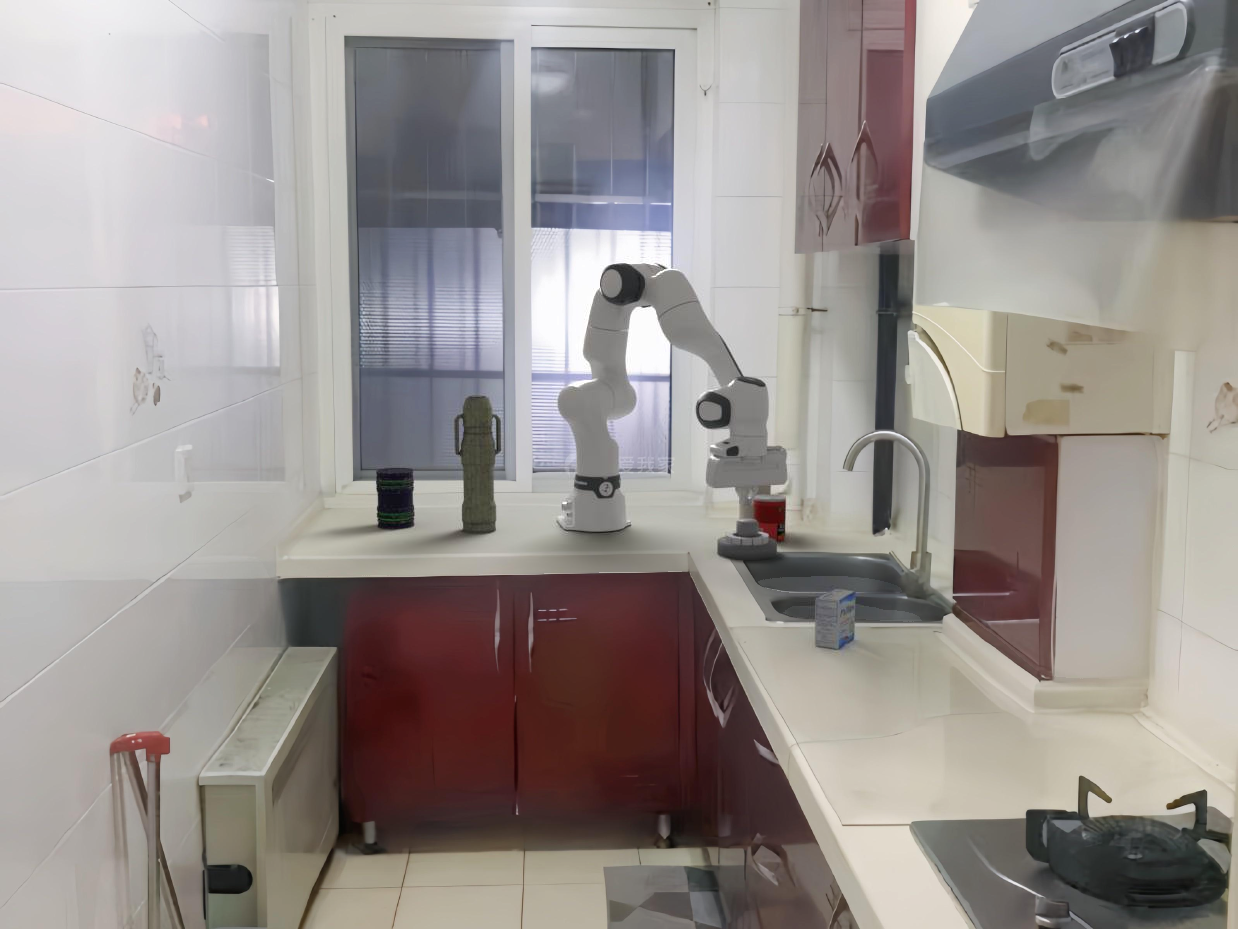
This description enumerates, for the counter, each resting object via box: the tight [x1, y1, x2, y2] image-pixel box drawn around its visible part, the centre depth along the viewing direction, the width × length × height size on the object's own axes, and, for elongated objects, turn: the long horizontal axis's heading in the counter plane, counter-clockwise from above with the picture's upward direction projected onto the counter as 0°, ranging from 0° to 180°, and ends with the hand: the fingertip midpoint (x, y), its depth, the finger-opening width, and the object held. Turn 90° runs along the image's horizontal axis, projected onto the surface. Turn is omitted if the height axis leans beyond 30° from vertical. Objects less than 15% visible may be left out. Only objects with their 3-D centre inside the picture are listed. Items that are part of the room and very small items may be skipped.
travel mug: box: [738, 485, 772, 520], centre depth 292 cm, size 8×8×18 cm
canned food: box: [754, 493, 787, 543], centre depth 282 cm, size 8×8×11 cm
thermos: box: [453, 395, 502, 534], centre depth 292 cm, size 9×12×35 cm
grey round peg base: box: [716, 530, 778, 561], centre depth 267 cm, size 14×14×4 cm
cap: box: [735, 519, 759, 538], centre depth 266 cm, size 5×5×5 cm
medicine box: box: [814, 588, 856, 651], centre depth 195 cm, size 8×4×9 cm, turn 148°
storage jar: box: [375, 467, 415, 530], centre depth 299 cm, size 10×10×15 cm
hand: (746, 505), depth 266 cm, fingers closed
